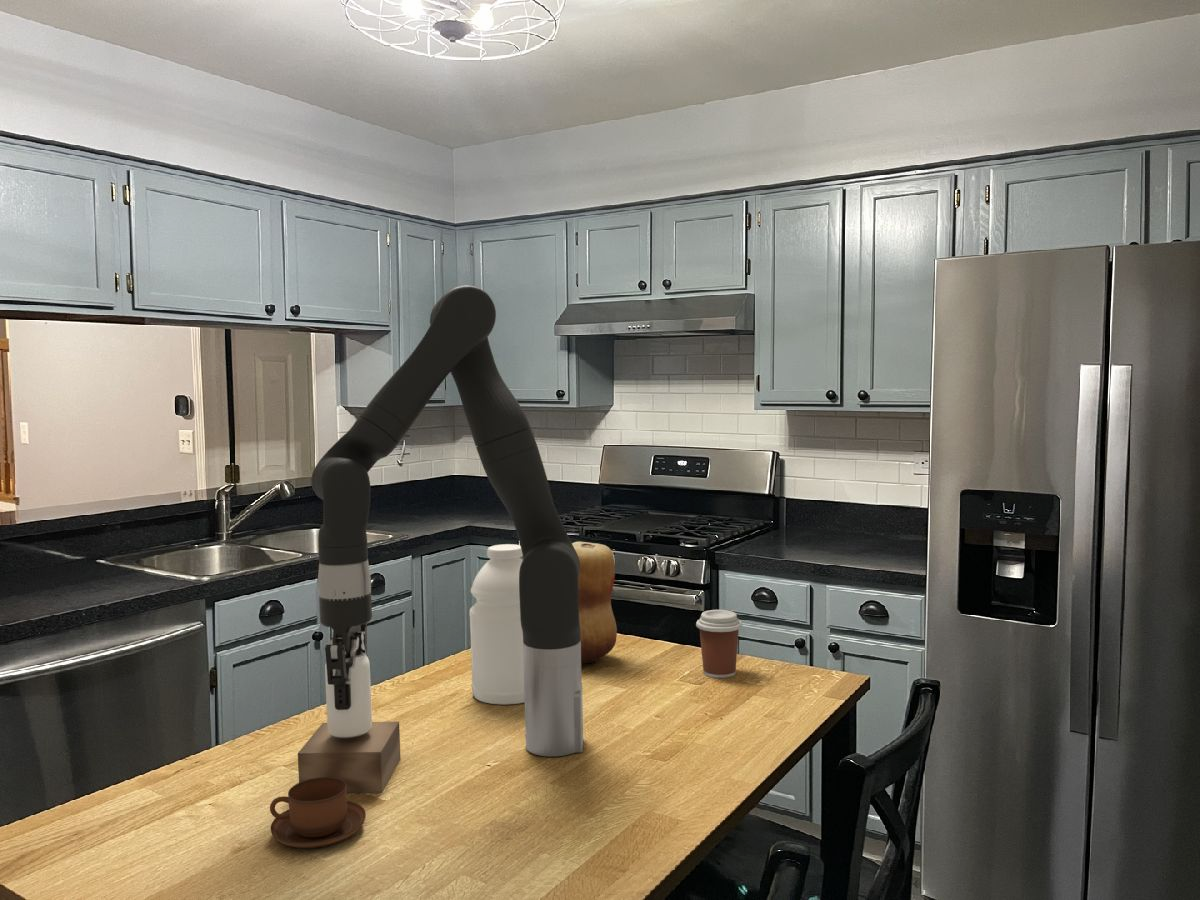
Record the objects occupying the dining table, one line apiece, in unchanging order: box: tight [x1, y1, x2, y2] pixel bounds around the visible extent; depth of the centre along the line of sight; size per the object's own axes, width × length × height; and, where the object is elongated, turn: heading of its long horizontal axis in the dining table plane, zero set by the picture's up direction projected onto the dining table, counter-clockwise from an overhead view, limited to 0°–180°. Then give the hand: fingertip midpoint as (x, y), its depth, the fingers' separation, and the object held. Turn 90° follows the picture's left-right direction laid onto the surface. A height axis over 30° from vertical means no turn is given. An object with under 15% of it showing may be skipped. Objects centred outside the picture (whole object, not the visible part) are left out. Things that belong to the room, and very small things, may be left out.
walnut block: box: [297, 721, 402, 794], centre depth 141 cm, size 12×12×6 cm
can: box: [324, 648, 373, 738], centre depth 140 cm, size 6×6×12 cm
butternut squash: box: [571, 541, 618, 665], centre depth 194 cm, size 14×13×25 cm
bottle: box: [468, 543, 525, 706], centre depth 175 cm, size 14×14×28 cm
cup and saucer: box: [269, 777, 367, 849], centre depth 123 cm, size 12×12×6 cm
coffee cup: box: [695, 609, 743, 679], centre depth 186 cm, size 9×9×12 cm
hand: (349, 700), depth 140 cm, fingers closed on can, 6 cm apart
